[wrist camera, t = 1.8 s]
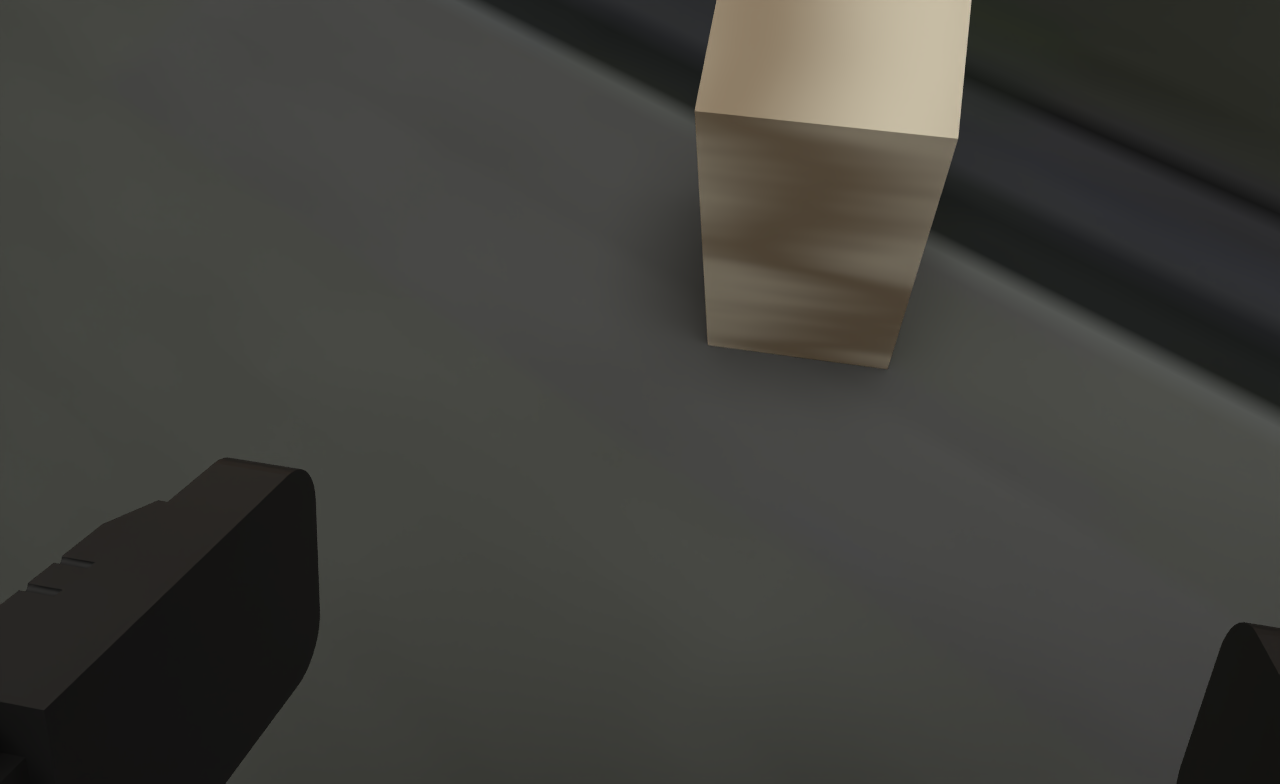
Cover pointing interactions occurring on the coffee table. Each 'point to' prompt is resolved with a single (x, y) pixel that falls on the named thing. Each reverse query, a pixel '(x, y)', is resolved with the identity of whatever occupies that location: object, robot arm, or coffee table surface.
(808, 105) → the birch block
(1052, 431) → the coffee table surface
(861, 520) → the coffee table surface
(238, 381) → the coffee table surface
